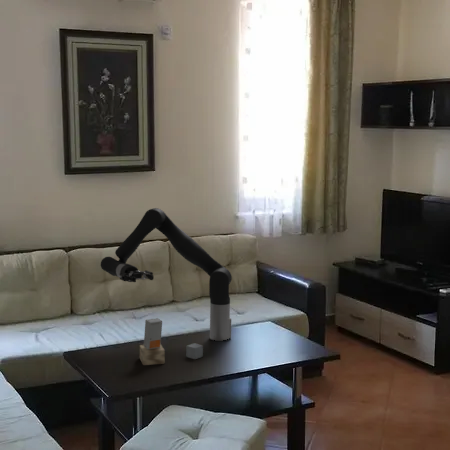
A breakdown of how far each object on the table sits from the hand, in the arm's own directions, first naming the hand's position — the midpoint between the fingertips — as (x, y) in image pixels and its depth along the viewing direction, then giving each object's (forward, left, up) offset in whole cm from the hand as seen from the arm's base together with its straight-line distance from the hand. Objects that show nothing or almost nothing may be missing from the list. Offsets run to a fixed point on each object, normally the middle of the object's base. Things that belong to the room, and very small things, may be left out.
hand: (143, 278), depth 302 cm
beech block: (+4, +15, -32) cm, 36 cm away
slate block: (-14, +20, -32) cm, 40 cm away
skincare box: (+4, +15, -26) cm, 31 cm away
